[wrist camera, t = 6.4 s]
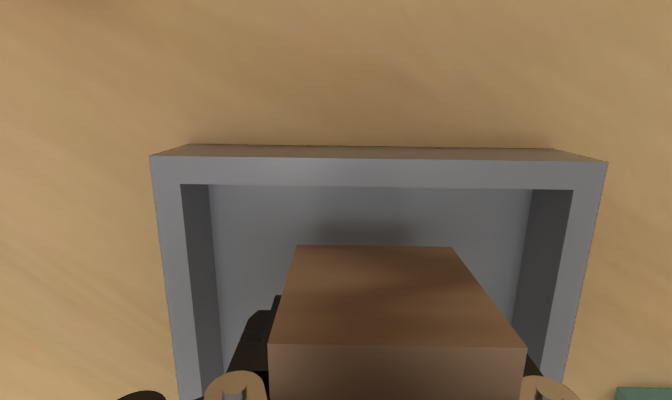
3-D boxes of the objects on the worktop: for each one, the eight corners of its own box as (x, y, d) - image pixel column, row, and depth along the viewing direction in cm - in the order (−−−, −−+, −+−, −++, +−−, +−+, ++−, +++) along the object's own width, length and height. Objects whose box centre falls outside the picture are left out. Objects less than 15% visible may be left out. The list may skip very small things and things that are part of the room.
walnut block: (451, 246, 12) (528, 347, 7) (438, 376, 13) (494, 536, 8) (296, 244, 12) (267, 343, 7) (299, 373, 13) (275, 531, 8)
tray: (552, 148, 16) (608, 162, 13) (499, 465, 21) (529, 536, 18) (188, 143, 16) (148, 155, 13) (218, 458, 21) (195, 527, 18)
